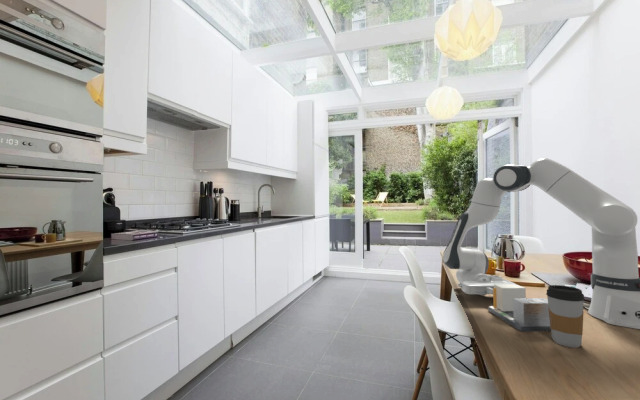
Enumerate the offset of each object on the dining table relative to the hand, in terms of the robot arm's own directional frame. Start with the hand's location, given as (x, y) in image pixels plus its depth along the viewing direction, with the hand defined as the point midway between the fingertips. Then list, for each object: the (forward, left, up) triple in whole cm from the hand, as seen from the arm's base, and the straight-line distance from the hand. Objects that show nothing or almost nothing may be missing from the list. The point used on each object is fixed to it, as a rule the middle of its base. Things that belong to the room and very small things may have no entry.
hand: (499, 293), depth 112 cm
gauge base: (-9, +8, -5) cm, 13 cm away
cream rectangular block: (-4, +4, -4) cm, 7 cm away
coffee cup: (-23, +17, -6) cm, 29 cm away
